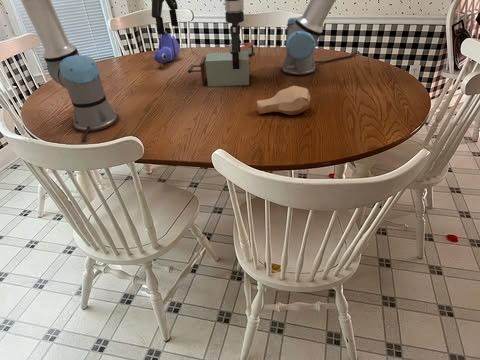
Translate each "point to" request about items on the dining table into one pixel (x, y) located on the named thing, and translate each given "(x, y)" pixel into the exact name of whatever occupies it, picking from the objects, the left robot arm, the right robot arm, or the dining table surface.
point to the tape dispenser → (245, 48)
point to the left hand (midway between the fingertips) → (168, 30)
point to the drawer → (203, 70)
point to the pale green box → (227, 69)
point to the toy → (166, 49)
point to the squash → (286, 101)
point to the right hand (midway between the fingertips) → (236, 63)
